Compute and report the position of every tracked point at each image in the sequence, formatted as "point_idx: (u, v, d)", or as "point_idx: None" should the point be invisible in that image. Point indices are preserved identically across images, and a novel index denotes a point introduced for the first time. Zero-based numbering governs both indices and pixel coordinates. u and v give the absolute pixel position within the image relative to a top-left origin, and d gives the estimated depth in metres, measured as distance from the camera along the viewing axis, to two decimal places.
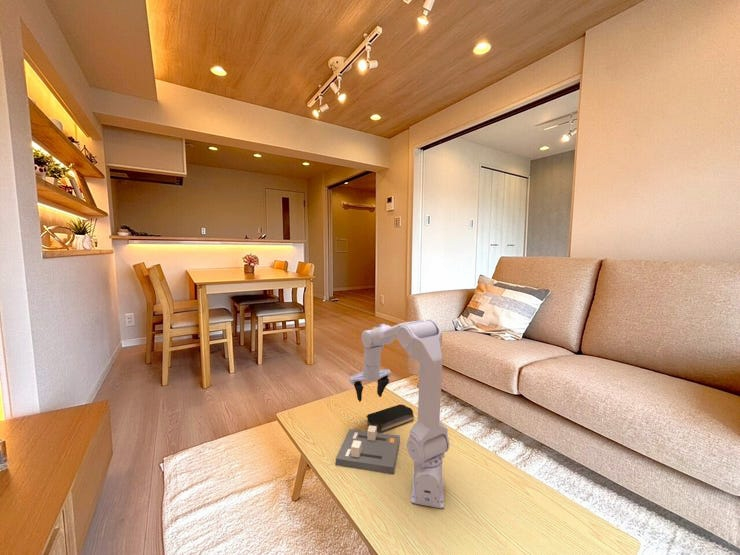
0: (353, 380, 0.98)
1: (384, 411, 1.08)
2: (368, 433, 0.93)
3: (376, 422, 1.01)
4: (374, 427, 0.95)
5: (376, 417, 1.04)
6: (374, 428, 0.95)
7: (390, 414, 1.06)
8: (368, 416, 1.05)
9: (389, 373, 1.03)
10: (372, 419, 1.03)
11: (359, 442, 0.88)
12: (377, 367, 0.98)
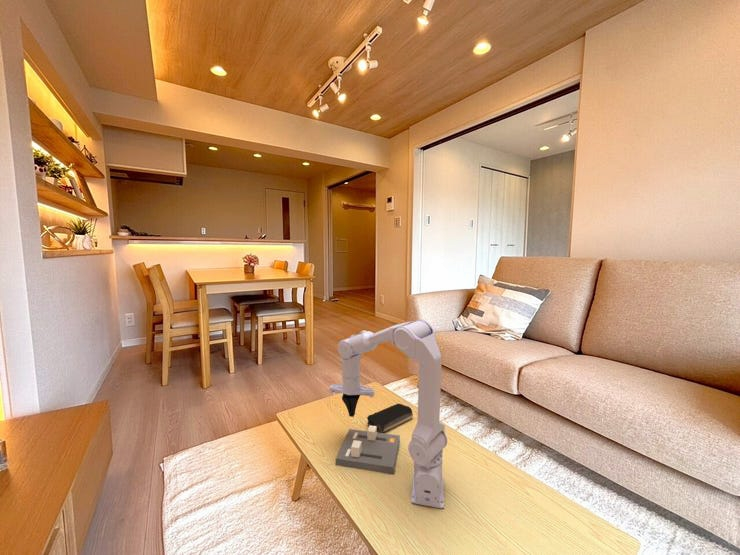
0: (330, 388, 0.95)
1: (383, 411, 1.08)
2: (368, 433, 0.93)
3: (378, 423, 1.00)
4: (374, 427, 0.95)
5: (377, 418, 1.04)
6: (374, 428, 0.95)
7: (390, 414, 1.06)
8: (368, 418, 1.04)
9: (371, 392, 0.92)
10: (373, 420, 1.02)
11: (359, 442, 0.88)
12: (352, 380, 0.91)
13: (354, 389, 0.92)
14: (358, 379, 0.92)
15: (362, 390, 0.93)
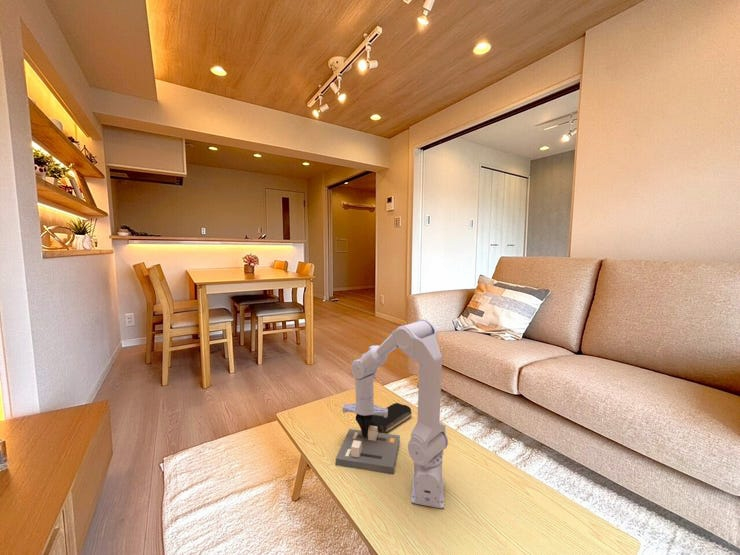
0: (343, 408, 0.95)
1: None
2: (369, 433, 0.93)
3: (380, 424, 1.00)
4: (375, 427, 0.95)
5: (378, 419, 1.03)
6: (375, 428, 0.95)
7: (390, 414, 1.06)
8: None
9: (384, 413, 0.92)
10: (375, 421, 1.02)
11: (359, 442, 0.88)
12: (365, 400, 0.91)
13: (368, 409, 0.92)
14: (372, 399, 0.92)
15: (375, 410, 0.93)
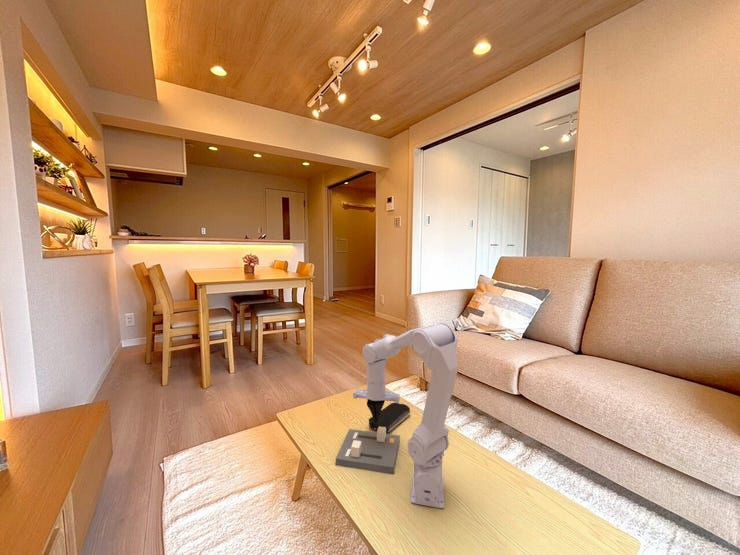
0: (354, 394, 0.93)
1: (382, 412, 1.08)
2: (377, 434, 0.93)
3: (382, 424, 1.00)
4: (383, 428, 0.94)
5: (379, 420, 1.03)
6: (383, 429, 0.94)
7: (390, 414, 1.06)
8: (370, 420, 1.03)
9: (396, 398, 0.90)
10: None
11: (359, 442, 0.88)
12: (377, 385, 0.90)
13: (379, 395, 0.90)
14: (383, 384, 0.91)
15: (387, 395, 0.92)
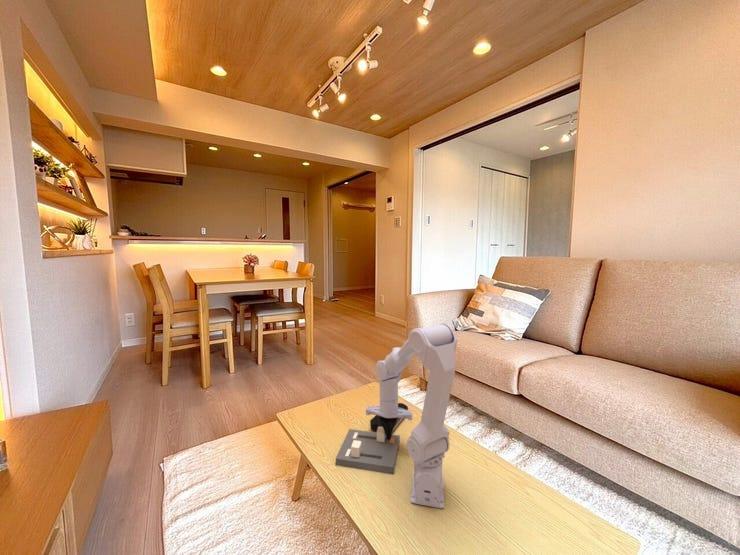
0: (367, 410, 0.93)
1: None
2: (377, 434, 0.93)
3: None
4: None
5: None
6: (383, 429, 0.94)
7: None
8: (372, 422, 1.02)
9: (410, 415, 0.90)
10: (379, 424, 1.00)
11: (359, 442, 0.88)
12: (390, 403, 0.89)
13: (392, 412, 0.90)
14: (396, 402, 0.91)
15: (400, 413, 0.91)
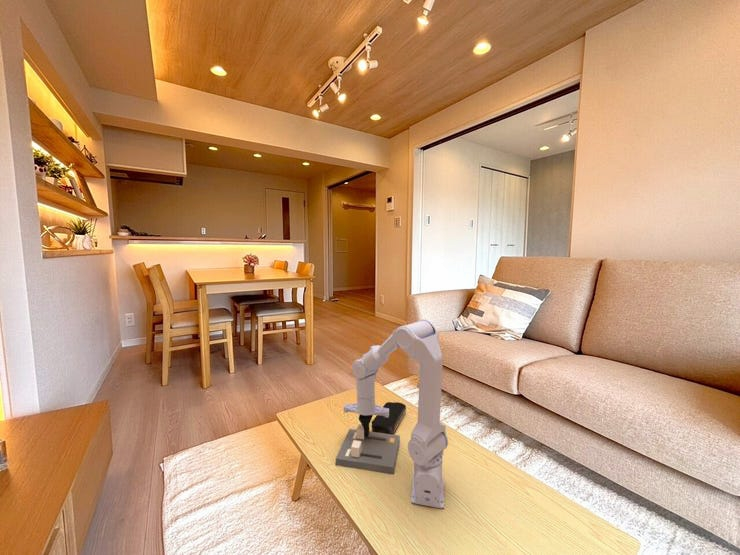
0: (345, 408, 0.95)
1: None
2: (357, 432, 0.94)
3: (388, 425, 0.99)
4: None
5: (382, 421, 1.02)
6: None
7: (390, 414, 1.06)
8: (374, 423, 1.01)
9: (386, 413, 0.92)
10: (381, 424, 1.00)
11: (359, 442, 0.88)
12: (367, 400, 0.91)
13: (369, 409, 0.91)
14: (373, 399, 0.92)
15: (377, 410, 0.93)
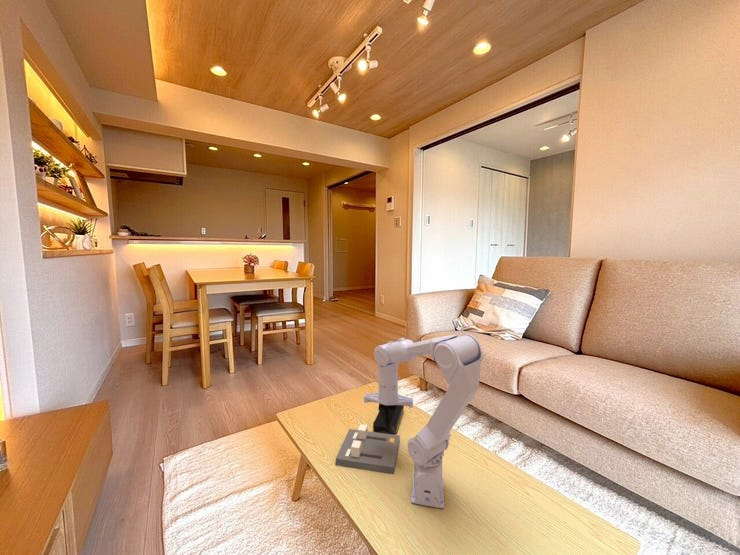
0: (365, 398, 0.88)
1: None
2: (359, 432, 0.94)
3: None
4: (365, 426, 0.96)
5: (384, 422, 1.01)
6: (365, 427, 0.95)
7: None
8: (376, 425, 1.00)
9: (410, 402, 0.85)
10: (383, 425, 1.00)
11: (359, 442, 0.88)
12: (390, 389, 0.85)
13: (392, 399, 0.85)
14: (396, 388, 0.86)
15: (400, 400, 0.87)
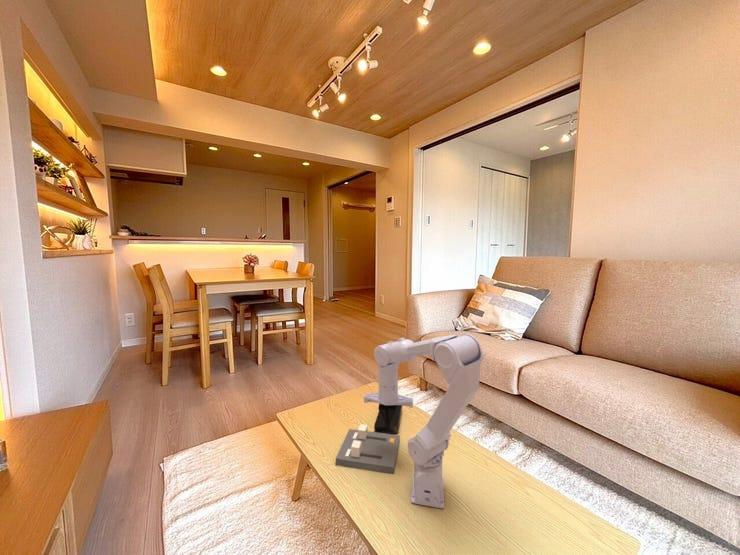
0: (365, 398, 0.88)
1: None
2: (359, 432, 0.94)
3: (392, 425, 0.99)
4: (365, 426, 0.96)
5: None
6: (365, 427, 0.95)
7: None
8: (378, 425, 1.00)
9: (410, 402, 0.85)
10: None
11: (359, 442, 0.88)
12: (390, 389, 0.85)
13: (392, 399, 0.85)
14: (396, 388, 0.86)
15: (400, 400, 0.87)
